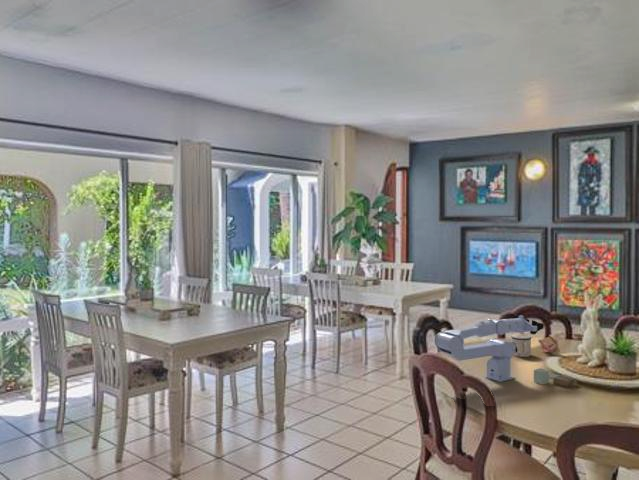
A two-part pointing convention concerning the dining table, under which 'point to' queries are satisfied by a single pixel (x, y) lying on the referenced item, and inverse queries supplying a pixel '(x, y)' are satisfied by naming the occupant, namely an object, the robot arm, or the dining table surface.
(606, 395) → the dining table surface
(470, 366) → the dining table surface
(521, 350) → the teacup with lid
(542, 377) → the sage block
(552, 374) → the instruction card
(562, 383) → the walnut slab
